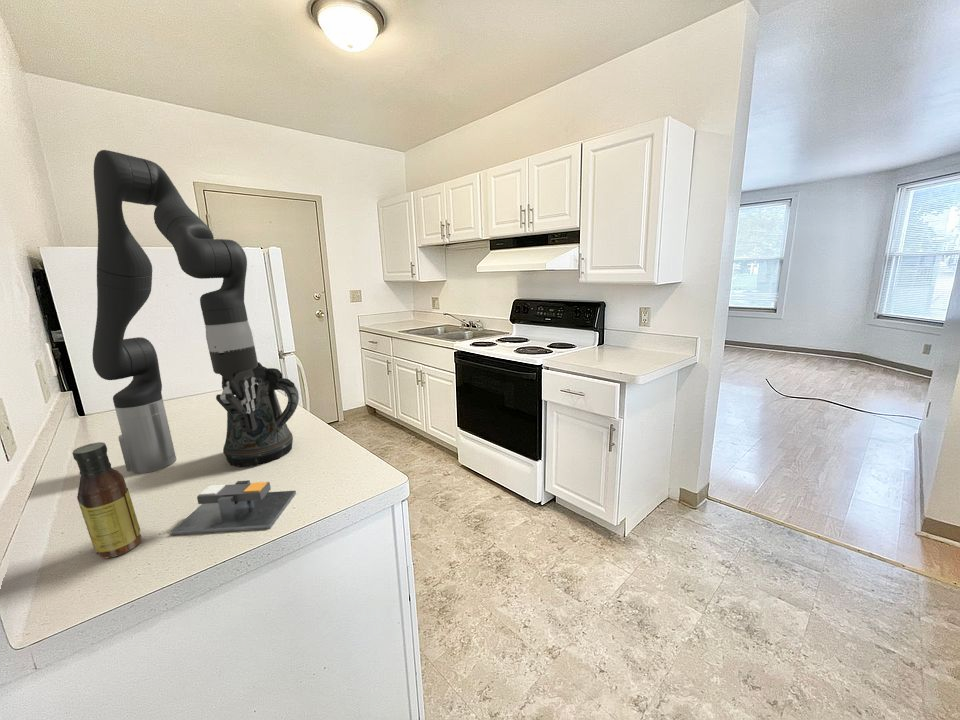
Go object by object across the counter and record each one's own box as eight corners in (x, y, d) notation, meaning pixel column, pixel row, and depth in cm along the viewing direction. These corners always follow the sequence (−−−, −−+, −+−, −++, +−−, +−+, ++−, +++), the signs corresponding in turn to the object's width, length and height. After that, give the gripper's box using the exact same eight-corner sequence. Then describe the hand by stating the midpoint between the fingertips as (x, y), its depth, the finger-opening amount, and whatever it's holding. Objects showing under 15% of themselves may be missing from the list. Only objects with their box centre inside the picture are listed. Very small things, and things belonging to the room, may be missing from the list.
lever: (198, 504, 77) (196, 495, 76) (211, 492, 81) (209, 484, 80) (261, 500, 77) (259, 491, 77) (270, 489, 81) (269, 480, 81)
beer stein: (228, 449, 111) (211, 362, 105) (303, 434, 119) (291, 353, 114) (222, 474, 96) (202, 375, 91) (307, 455, 105) (294, 363, 99)
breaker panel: (172, 535, 73) (166, 510, 72) (211, 499, 85) (207, 477, 84) (270, 528, 74) (265, 503, 73) (296, 493, 86) (292, 472, 85)
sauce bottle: (116, 538, 73) (88, 439, 69) (151, 535, 74) (126, 436, 69) (84, 563, 67) (52, 455, 63) (123, 560, 67) (94, 452, 63)
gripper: (231, 342, 82) (247, 420, 86) (189, 354, 69) (210, 446, 73) (267, 339, 83) (282, 417, 86) (233, 350, 70) (252, 442, 73)
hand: (249, 430), depth 79 cm, fingers closed
